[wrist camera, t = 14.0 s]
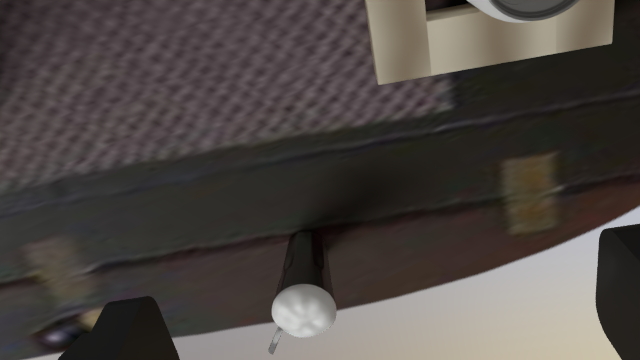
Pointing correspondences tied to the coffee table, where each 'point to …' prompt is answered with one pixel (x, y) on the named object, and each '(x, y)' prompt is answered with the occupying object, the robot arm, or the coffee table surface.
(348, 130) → the coffee table surface
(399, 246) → the coffee table surface
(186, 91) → the coffee table surface
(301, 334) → the milkshake
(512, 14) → the can
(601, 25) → the socket block
